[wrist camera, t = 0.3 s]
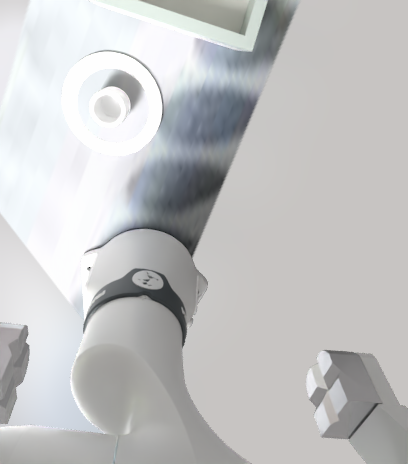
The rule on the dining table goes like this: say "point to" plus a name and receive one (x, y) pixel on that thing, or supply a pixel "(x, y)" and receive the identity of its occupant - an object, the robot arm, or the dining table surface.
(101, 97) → the candle holder
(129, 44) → the dining table surface
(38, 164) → the dining table surface
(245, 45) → the raised tray
